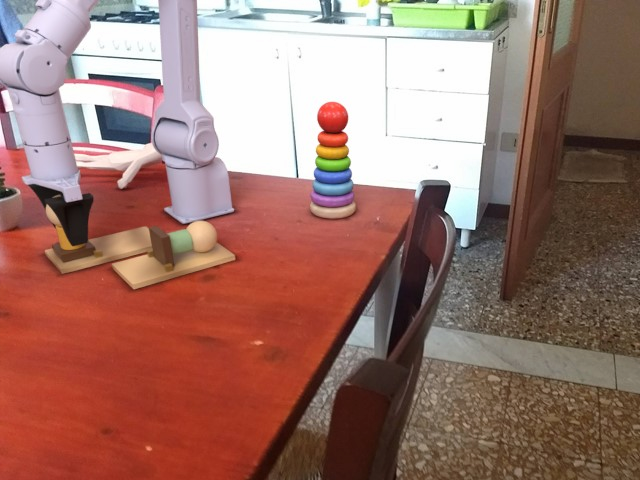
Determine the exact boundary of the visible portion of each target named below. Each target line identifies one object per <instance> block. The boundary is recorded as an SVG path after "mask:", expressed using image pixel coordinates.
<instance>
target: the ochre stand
mask: <svg viewBox="0 0 640 480" xmlns="http://www.w3.org/2000/svg"><path fill="white" fill-rule="evenodd" d="M88 241H89V242H90V243H92V244H93V245H94V246H95V249H96V250H95V251H93V253H94V255H91V256H87V257H83V258H79V259H75V260H71V261H67V262H62V261H61V259H60V258H59V257H58V256H57V255H56V254H55V253H54V251H53V248H52V247H51V248H47V249H45V250H44V253H45V256H46V257H47V259H49V260H50V261H51V263H52V264H53V265H54V266H55V267H56V269H57V270H58V271H59V272H60V273H61V274H62V275H64V274H68V273H72V272H76V271H80V270H84V269H87V268H91V267H96V266H99V265H103V264H106V263H111V262H114V261H117V260H122V259H125V258H129V257H133V256H137V255H141V254H145V253H147V250H151V249H152V244H151V238H150V233H149V227H148V226H140V227H137V228H132V229H129V230H123V231H119V232H116V233H111V234H107V235H103V236H98V237H93V238H90V239H89V238H88Z"/></svg>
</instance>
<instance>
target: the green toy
mask: <svg viewBox="0 0 640 480" xmlns="http://www.w3.org/2000/svg"><path fill="white" fill-rule="evenodd" d="M148 228H149V233H150V238H151V244H152V249H153V255H154V257H155V258H156V259H157V260H158V261H159V262H160V263H162V264H163V265H165V264H169V263H171V264H172V266H175V264H174V258H173V255H177V254H181V253H184V252H188V251H191V250H194V251H196V252H206V251H209V250H211V249H212V248H213V247H214V246H215V244H216V242H217V243H218V232H217V230H216V228H215V226H214V225H213V224H211V223H210V222H208V221H205V220H199V221H194V222H190V223H189V225H188V226H186V229H185V228H183V229H179V230H175V231H172V232H168V233H167V232H166V231H164V230H163V229H162V228H160V227H159V226H158V225H154V226H150V227H148Z"/></svg>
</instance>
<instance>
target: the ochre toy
mask: <svg viewBox="0 0 640 480" xmlns="http://www.w3.org/2000/svg"><path fill="white" fill-rule="evenodd" d="M59 196H60V195H56V196H54V197H59ZM54 197H52V198H54ZM60 197H61V196H60ZM45 214H46V217H47V218H48V220H49V221H50V222H52V223H53V224H55V225H56V226H55V227H56V229H55V230H56V234H57V238H58V242H56V243H53V244H51V249H52V248H53V251H54V253H55V254H56V255H57V256H58V257H59V258H60V259H61V261H62V262H67V261H71V260H75V259H79V258H83V257H87V256H91V255H94V253H93V251H95V250H96V249H95V246H94V245H93V244H92V243H90V242H89V241H88V243H85V244H81V245H77V246H72V245H71V244H70V243H69V241H68V239H67V237H66V235H65V233H64V230H63V228H62V225H61V223H60V221H59V220H58V218H57V216H56V215H55V213H54V212H53V210H52V209H51V208H50V207H49V206H48V205H46V211H45ZM52 223H51V224H52ZM53 224H52V225H53ZM55 227H54V228H55Z"/></svg>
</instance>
